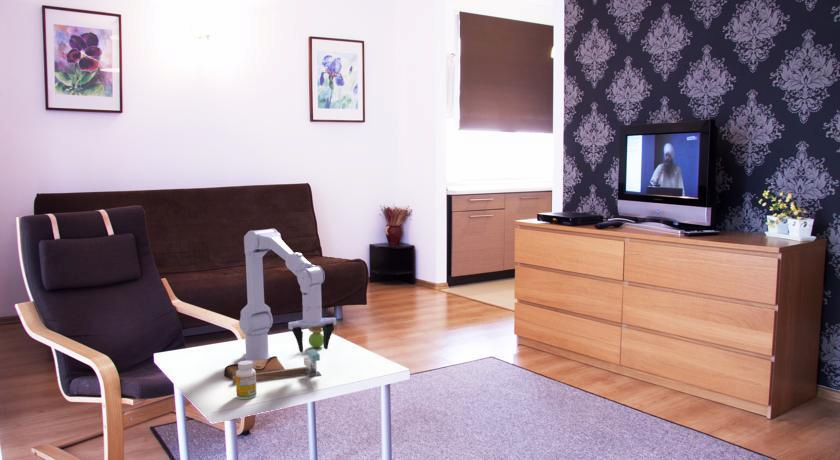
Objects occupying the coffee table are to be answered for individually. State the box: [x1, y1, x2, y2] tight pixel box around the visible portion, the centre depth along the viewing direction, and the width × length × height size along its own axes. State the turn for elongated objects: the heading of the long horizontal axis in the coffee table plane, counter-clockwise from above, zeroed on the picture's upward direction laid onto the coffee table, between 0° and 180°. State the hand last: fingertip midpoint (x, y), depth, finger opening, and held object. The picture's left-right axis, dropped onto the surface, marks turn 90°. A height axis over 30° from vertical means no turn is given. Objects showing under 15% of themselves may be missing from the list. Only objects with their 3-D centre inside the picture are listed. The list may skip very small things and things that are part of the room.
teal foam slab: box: [303, 349, 321, 373], centre depth 208 cm, size 12×2×6 cm, turn 23°
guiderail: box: [232, 366, 308, 385], centre depth 202 cm, size 1×22×2 cm, turn 113°
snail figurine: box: [307, 326, 324, 349], centre depth 235 cm, size 5×6×12 cm
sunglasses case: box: [223, 355, 285, 382], centre depth 207 cm, size 18×7×7 cm
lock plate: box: [306, 370, 322, 378], centre depth 205 cm, size 4×4×1 cm
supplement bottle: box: [235, 360, 257, 400], centre depth 186 cm, size 5×5×10 cm
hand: (313, 349), depth 205 cm, fingers open, 7 cm apart
